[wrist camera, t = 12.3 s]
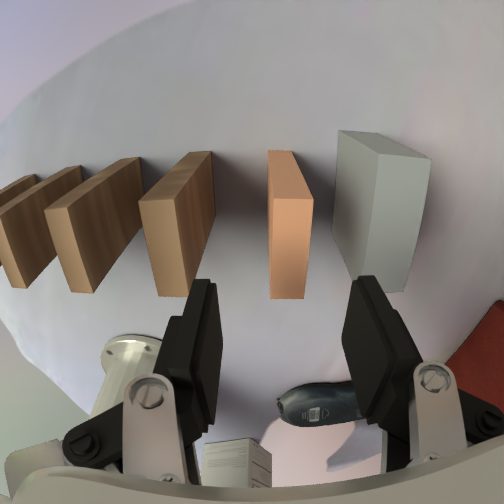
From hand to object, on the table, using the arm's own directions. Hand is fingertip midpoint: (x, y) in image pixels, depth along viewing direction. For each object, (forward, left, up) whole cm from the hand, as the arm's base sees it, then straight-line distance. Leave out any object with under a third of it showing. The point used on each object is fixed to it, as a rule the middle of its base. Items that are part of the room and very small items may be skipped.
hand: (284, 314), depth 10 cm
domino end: (0, -1, -13) cm, 14 cm away
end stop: (-4, -5, -13) cm, 15 cm away
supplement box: (-28, +35, -14) cm, 47 cm away
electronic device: (-25, +13, -14) cm, 32 cm away
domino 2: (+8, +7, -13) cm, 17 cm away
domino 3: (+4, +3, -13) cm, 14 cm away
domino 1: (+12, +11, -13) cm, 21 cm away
